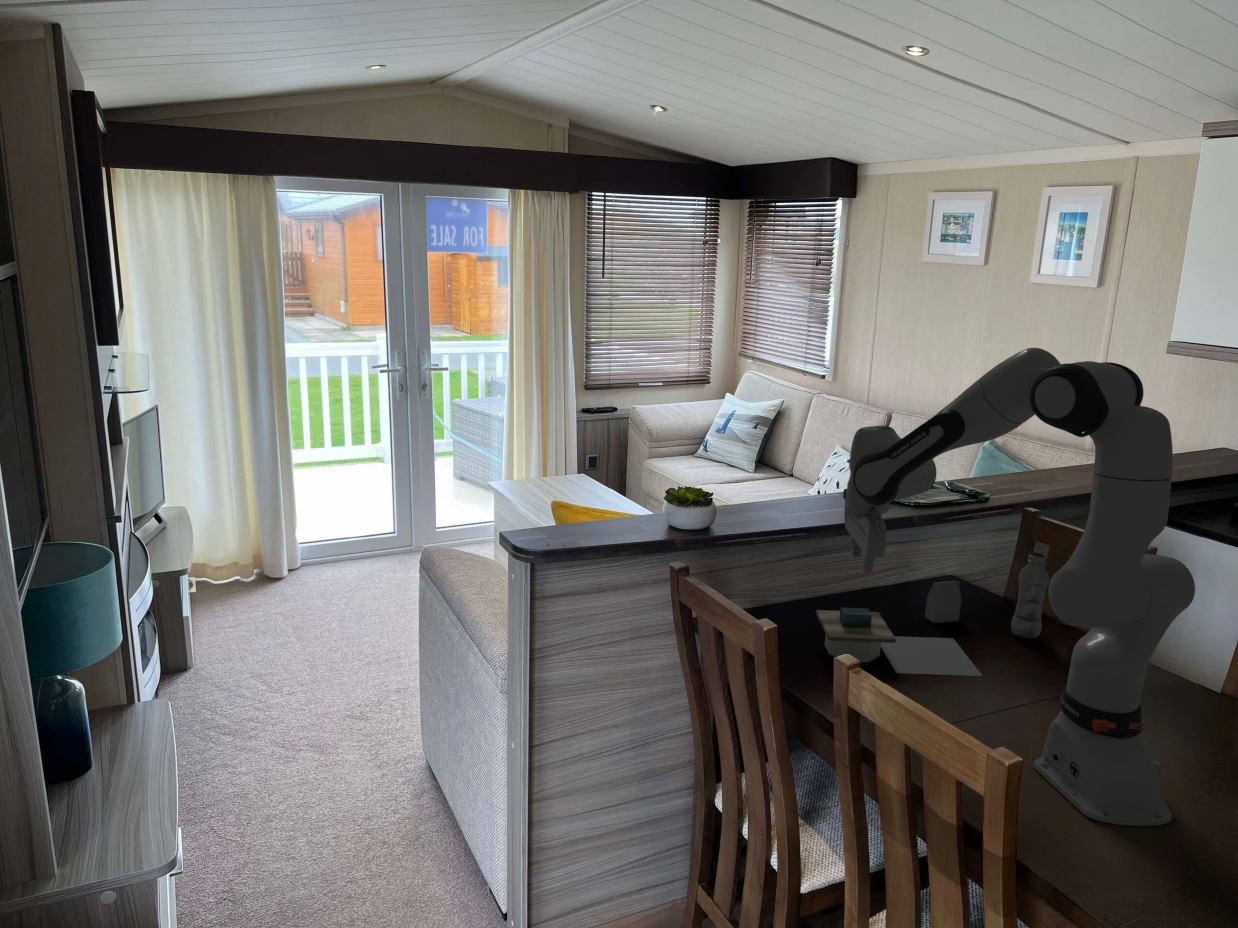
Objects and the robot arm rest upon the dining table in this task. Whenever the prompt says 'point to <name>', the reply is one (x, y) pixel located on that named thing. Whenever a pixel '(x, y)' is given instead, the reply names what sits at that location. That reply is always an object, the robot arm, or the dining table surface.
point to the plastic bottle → (1030, 597)
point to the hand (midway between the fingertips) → (861, 563)
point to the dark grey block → (943, 602)
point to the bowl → (854, 649)
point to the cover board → (857, 632)
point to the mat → (928, 656)
